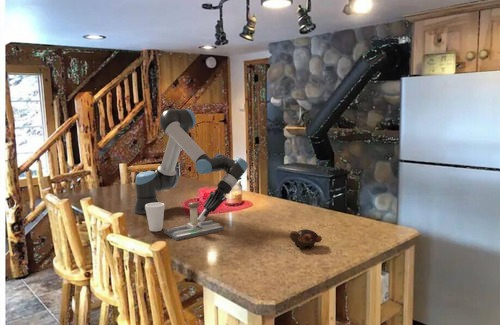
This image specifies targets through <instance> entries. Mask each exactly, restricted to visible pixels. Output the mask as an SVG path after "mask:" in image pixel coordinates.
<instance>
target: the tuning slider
mask: <svg viewBox="0 0 500 325" xmlns="http://www.w3.org/2000/svg"><path fill="white" fill-rule="evenodd" d="M187 205H188V208H189V217H190V218H189V219H190V222H188V223H186V225H187V228H189V229H194V228H200V229H202V228H201V227H202V225H201V224H199V223H200V222H199V220H198V217H199V214H198V208H199V207H200V202H196V201H192V202H188V204H187Z"/></svg>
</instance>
